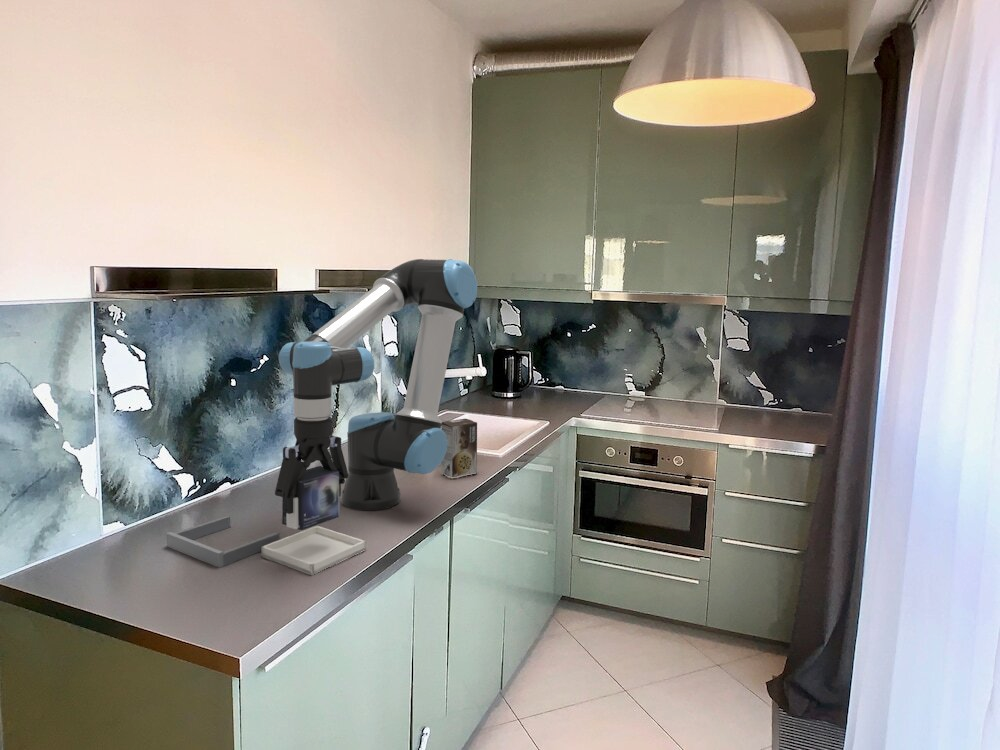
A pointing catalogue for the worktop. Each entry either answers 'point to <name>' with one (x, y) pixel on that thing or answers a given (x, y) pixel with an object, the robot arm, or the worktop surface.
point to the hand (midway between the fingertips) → (313, 519)
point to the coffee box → (460, 447)
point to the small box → (316, 497)
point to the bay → (186, 545)
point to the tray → (313, 549)
